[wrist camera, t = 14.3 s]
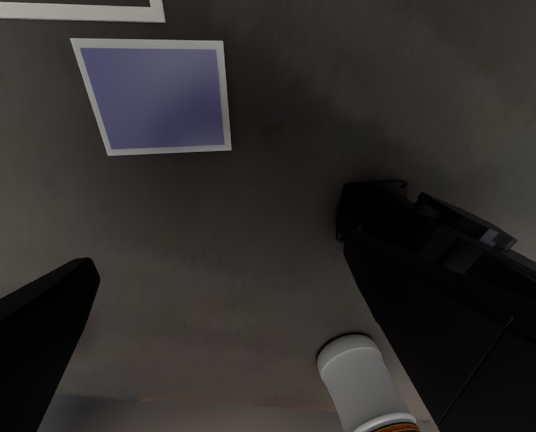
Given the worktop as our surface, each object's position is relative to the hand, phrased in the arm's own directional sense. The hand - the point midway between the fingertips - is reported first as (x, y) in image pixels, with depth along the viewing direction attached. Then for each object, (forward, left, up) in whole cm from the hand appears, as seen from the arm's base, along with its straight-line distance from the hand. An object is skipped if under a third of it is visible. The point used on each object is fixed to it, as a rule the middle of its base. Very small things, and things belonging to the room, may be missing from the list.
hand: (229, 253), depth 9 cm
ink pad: (+4, -4, -13) cm, 14 cm away
